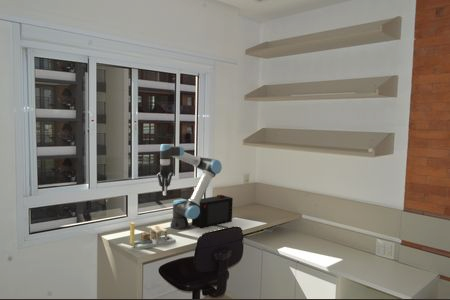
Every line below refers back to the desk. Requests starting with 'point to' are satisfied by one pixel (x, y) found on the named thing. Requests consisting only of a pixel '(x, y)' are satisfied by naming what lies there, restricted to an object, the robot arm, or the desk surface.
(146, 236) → the block
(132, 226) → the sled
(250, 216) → the desk surface
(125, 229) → the desk surface
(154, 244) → the deck
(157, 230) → the tunnel
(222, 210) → the speaker
